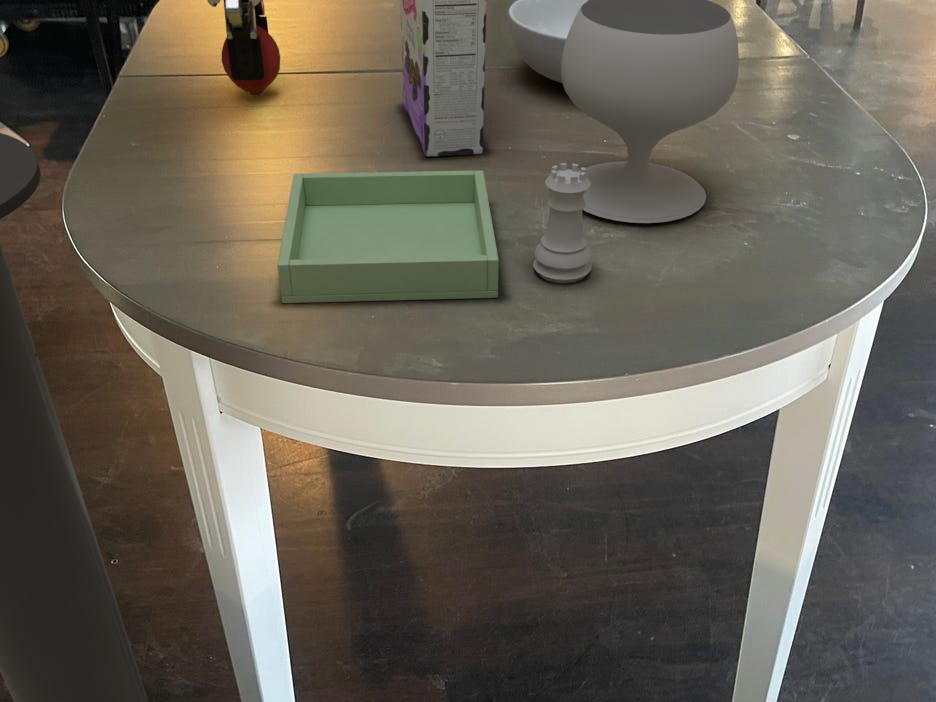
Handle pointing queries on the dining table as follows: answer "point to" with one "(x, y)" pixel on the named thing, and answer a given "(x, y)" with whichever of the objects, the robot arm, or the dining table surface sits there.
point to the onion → (269, 60)
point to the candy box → (445, 73)
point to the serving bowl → (542, 32)
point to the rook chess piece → (564, 228)
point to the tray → (388, 237)
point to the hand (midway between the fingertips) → (252, 66)
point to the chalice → (648, 94)
